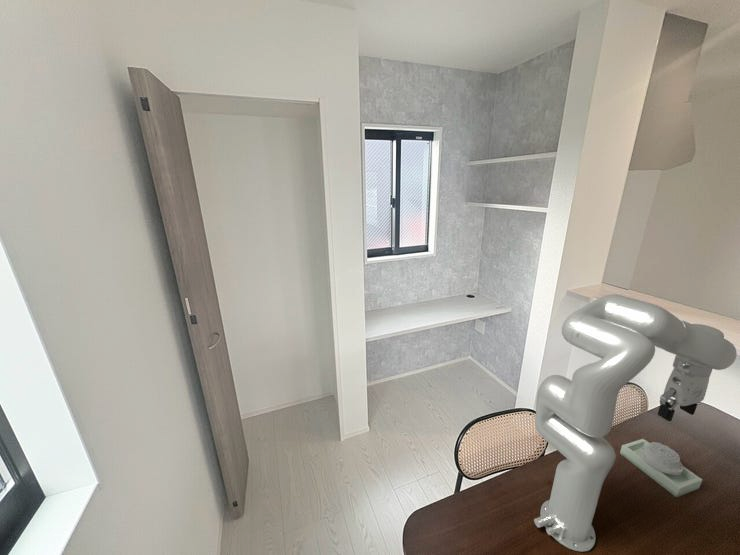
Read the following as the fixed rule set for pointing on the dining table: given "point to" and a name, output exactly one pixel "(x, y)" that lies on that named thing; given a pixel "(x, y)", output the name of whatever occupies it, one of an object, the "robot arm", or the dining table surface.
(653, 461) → the mechanical component
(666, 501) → the dining table surface
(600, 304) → the robot arm
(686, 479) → the tray
